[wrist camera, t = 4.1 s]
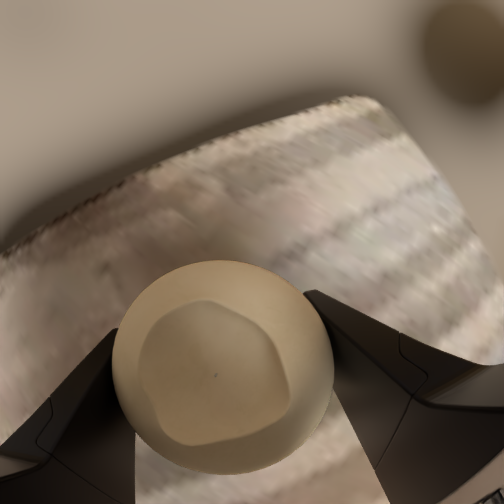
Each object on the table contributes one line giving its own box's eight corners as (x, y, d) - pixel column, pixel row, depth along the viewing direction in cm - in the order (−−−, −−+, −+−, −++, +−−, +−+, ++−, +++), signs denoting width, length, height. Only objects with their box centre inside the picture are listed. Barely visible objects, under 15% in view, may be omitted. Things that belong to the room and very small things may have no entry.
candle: (306, 340, 15) (397, 317, 6) (253, 429, 14) (266, 534, 4) (214, 289, 16) (171, 195, 6) (162, 376, 14) (48, 400, 5)
